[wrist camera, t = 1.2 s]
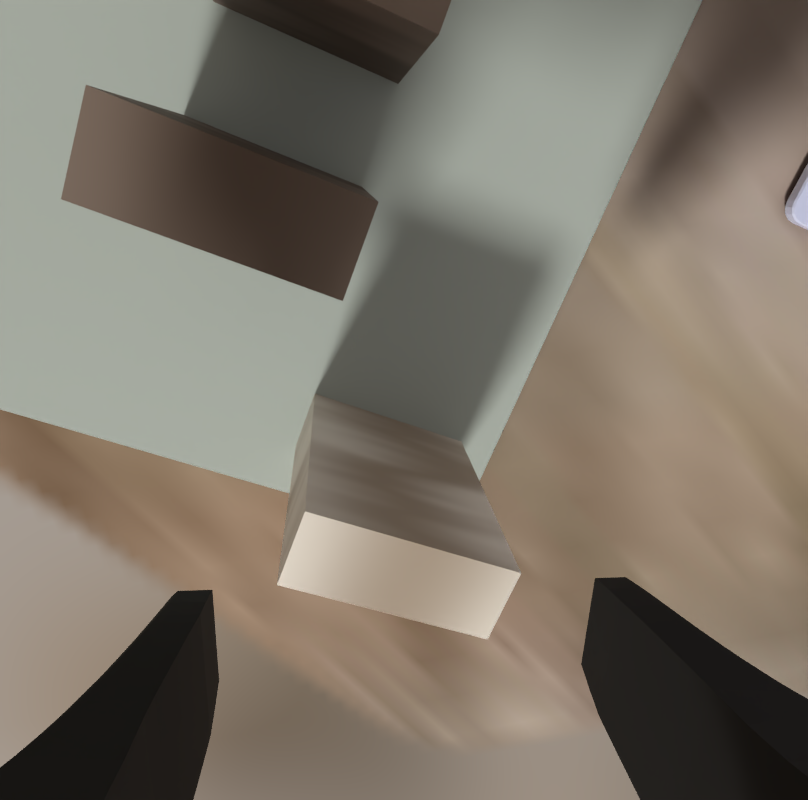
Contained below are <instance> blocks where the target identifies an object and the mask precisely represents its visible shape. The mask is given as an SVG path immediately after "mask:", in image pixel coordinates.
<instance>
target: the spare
mask: <svg viewBox="0 0 808 800" xmlns="http://www.w3.org/2000/svg"><path fill="white" fill-rule="evenodd" d="M520 574H521V572H520V570H519V567H518V565H517V563H516V561H515V558H514V556H513V554H512V552H511V550H510V547H509V545H508V543H507V541H506V539H505V536H504V534H503V532H502V530H501V528H500V525H499V523H498V521H497V519H496V517H495V514H494V512H493V510H492V508H491V506H490V503H489V501H488V499H487V497H486V495H485V492H484V490H483V488H482V486H481V484H480V481H479V479H478V477H477V475H476V473H475V470H474V468H473V466H472V464H471V462H470V459H469V457H468V455H467V453H466V451H465V448H464V446H463V444H462V442H461V441H458V440H455V439H452V438H449V437H446V436H443V435H440V434H437V433H434V432H431V431H428V430H425V429H422V428H419V427H416V426H413V425H410V424H406V423H403V422H400V421H397V420H394V419H391V418H388V417H385V416H382V415H379V414H376V413H373V412H370V411H367V410H364V409H361V408H358V407H354V406H351V405H348V404H345V403H342V402H339V401H336V400H333V399H330V398H327V397H324V396H321V395H318V394H314V397H313V400H312V403H311V405H310V408H309V411H308V414H307V416H306V419H305V422H304V425H303V427H302V430H301V433H300V436H299V438H298V441H297V444H296V448H295V455H294V463H293V470H292V477H291V485H290V492H289V500H288V507H287V514H286V522H285V529H284V537H283V544H282V551H281V559H280V566H279V574H278V581H277V585H279V586H283V587H287V588H291V589H295V590H298V591H302V592H306V593H310V594H314V595H318V596H322V597H326V598H329V599H333V600H337V601H341V602H345V603H349V604H353V605H356V606H360V607H364V608H368V609H372V610H376V611H380V612H384V613H387V614H391V615H395V616H399V617H403V618H407V619H411V620H414V621H418V622H422V623H426V624H430V625H434V626H438V627H442V628H445V629H449V630H453V631H457V632H461V633H465V634H469V635H473V636H476V637H480V638H484V639H488V637H489V635H490V633H491V631H492V629H493V627H494V626H495V624H496V622H497V620H498V618H499V616H500V614H501V612H502V610H503V608H504V606H505V604H506V602H507V600H508V598H509V596H510V594H511V592H512V590H513V588H514V586H515V584H516V582H517V580H518V578H519V576H520Z"/></svg>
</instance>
